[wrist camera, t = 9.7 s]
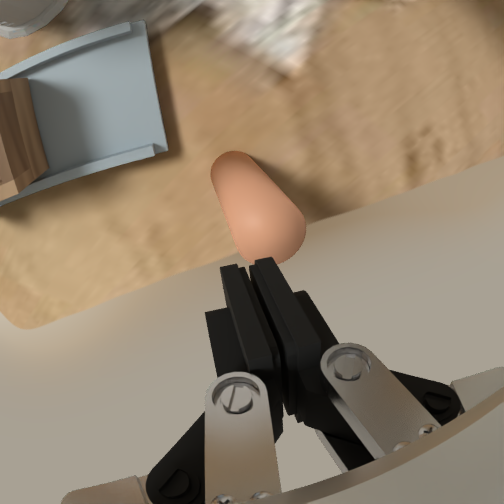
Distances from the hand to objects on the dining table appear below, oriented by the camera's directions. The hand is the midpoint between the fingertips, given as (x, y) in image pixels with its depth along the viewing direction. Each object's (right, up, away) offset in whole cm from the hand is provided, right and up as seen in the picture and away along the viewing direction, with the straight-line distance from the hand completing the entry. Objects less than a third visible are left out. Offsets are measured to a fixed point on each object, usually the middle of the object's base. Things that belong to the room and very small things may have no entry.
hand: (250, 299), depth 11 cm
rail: (-17, +13, +11) cm, 24 cm away
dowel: (-2, +8, +17) cm, 19 cm away
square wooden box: (-21, +11, +9) cm, 25 cm away
